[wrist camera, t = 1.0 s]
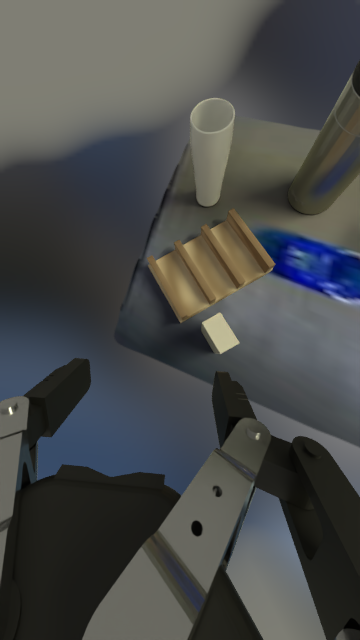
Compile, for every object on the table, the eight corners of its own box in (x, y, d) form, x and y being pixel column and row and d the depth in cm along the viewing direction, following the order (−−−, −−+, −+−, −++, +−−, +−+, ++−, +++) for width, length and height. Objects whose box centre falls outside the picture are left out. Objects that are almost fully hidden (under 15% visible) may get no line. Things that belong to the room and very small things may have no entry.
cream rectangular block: (214, 323, 37) (220, 312, 26) (227, 345, 36) (239, 343, 25) (201, 331, 37) (201, 322, 26) (214, 353, 36) (220, 353, 25)
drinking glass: (192, 186, 43) (188, 100, 28) (221, 183, 42) (233, 93, 28) (193, 212, 42) (190, 137, 27) (224, 209, 41) (237, 129, 26)
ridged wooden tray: (232, 220, 40) (236, 206, 36) (270, 271, 38) (278, 262, 34) (149, 268, 41) (144, 259, 37) (180, 323, 38) (178, 319, 34)
